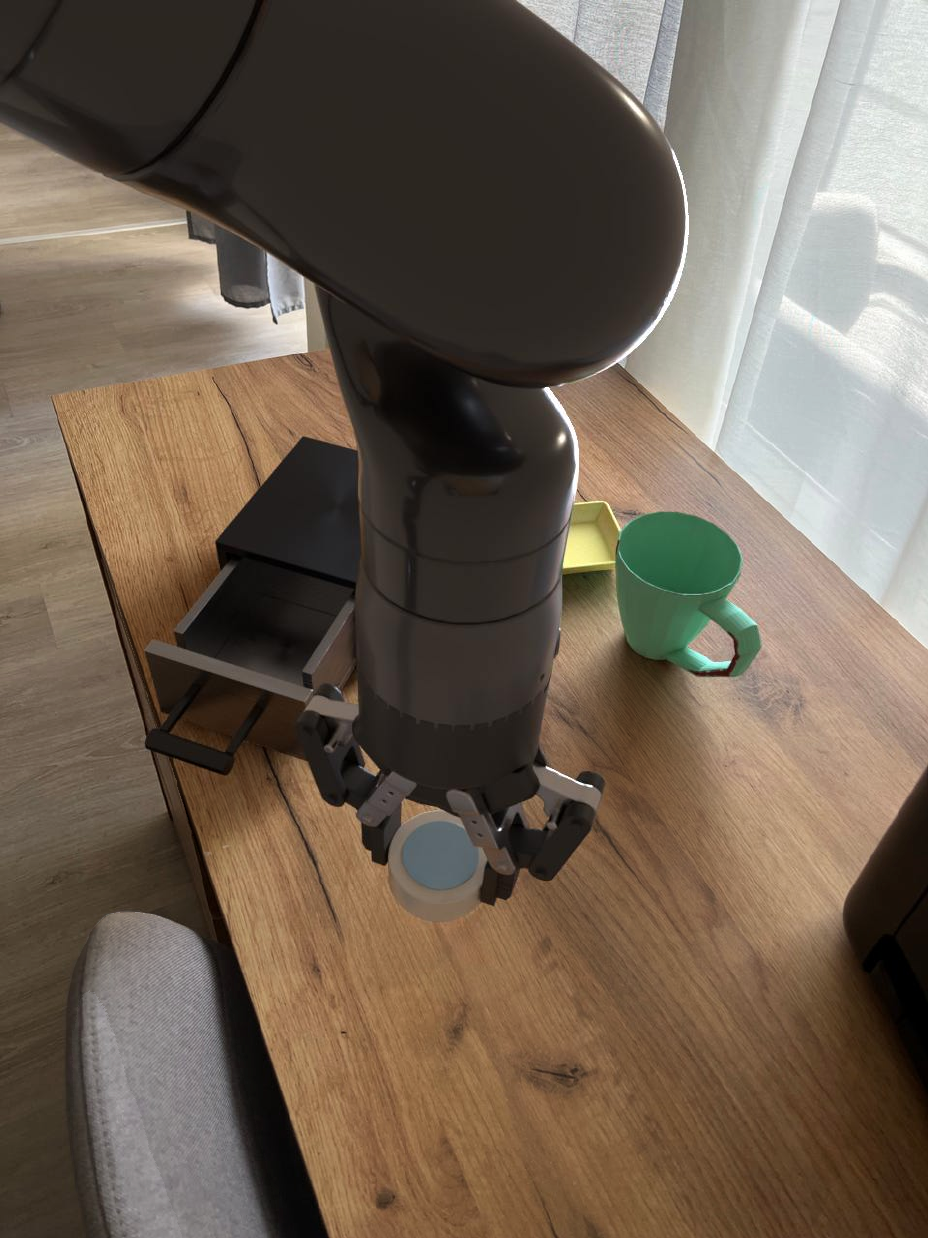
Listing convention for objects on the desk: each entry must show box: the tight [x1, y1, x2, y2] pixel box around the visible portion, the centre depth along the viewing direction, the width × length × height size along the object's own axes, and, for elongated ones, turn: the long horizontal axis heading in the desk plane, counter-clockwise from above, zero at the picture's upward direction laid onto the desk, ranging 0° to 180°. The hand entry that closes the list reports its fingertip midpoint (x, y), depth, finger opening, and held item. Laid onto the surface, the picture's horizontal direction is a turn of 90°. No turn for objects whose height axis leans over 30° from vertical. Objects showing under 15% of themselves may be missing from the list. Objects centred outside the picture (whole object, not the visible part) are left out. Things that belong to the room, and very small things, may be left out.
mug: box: [614, 510, 763, 678], centre depth 76 cm, size 15×10×10 cm
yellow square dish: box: [562, 500, 622, 576], centre depth 88 cm, size 9×9×2 cm
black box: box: [214, 435, 360, 590], centre depth 81 cm, size 15×14×9 cm
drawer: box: [143, 554, 357, 777], centre depth 71 cm, size 20×12×7 cm, turn 160°
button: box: [387, 809, 488, 923], centre depth 48 cm, size 5×5×2 cm
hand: (439, 868), depth 48 cm, fingers closed on button, 5 cm apart
